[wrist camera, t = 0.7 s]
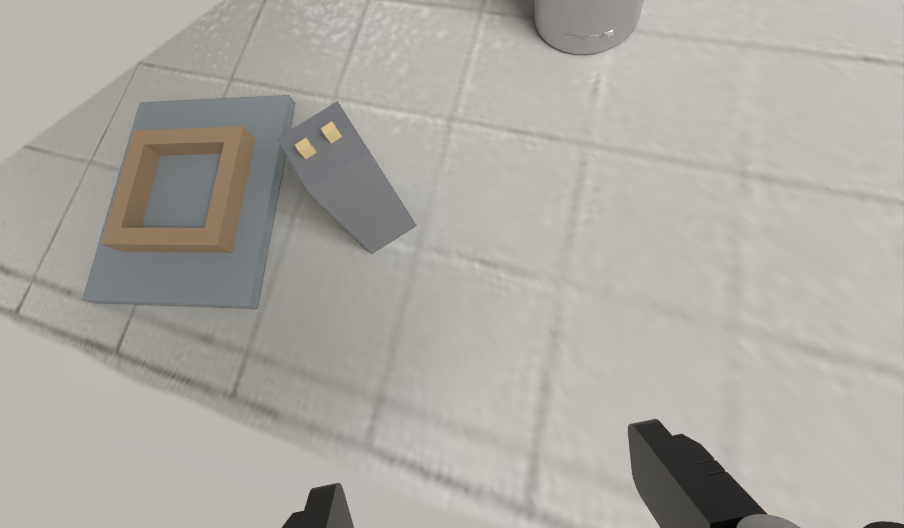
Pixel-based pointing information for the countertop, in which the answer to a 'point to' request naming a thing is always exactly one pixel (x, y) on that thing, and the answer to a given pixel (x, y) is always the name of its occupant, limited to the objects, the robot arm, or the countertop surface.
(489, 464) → the countertop surface
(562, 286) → the countertop surface
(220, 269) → the holder
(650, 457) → the robot arm
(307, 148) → the connector
